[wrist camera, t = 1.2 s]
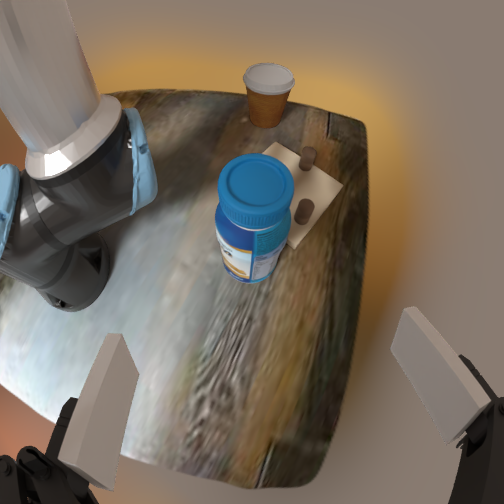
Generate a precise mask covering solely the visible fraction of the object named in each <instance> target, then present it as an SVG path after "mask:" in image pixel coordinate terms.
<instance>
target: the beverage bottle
mask: <svg viewBox="0 0 504 504" xmlns="http://www.w3.org/2000/svg"><path fill="white" fill-rule="evenodd" d="M218 195H219V201H220V202H219V204H218V206H217V209H216V213H215V224H216V235H217V239H218V242H219V244H220V248H221V252H222V259H223V264H224V267H225V269H226V270H227V272H228V273H229V274H230V275H231V276H232V277H233V278H234V279H236V280H238V281H240V282H244V283H256V282H260V281H262V280H264V279H266V278H267V277H268V276H269V275H270V274H271V273H272V272H273V270H274V269H275V266H276V264H277V260H278V257H279V254H280V252H281V251H282V249H283V248H284V246H285V244H286V242H287V238H288V234H289V231H290V227H291V211H290V208H289V207H290V205H291V202H292V199H293V195H294V180H293V176H292V174H291V172H290V170H289V169H288V168H287V167H286V165H284V164H283V163H282V162H281V161H279V160H278V159H276V158H274V157H272V156H269V155H265V154H259V153H251V154H245V155H241V156H238V157H236V158H234V159H233V160H231V161H230V162H229V163H227V164H226V165H225V167H224V168H223V169H222V171H221V173H220V176H219V180H218Z"/></svg>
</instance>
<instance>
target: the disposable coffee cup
mask: <svg viewBox="0 0 504 504" xmlns="http://www.w3.org/2000/svg"><path fill="white" fill-rule="evenodd" d="M243 80H244V83H245V84H246V89H247V97H248V105H249V113H250V120H251V122H252V123H253V124H254V125H256V126H258V127H261V128H272V127H275V126H277V125H278V124H279V122H280V119H281V117H282V114H283V111H284V108H285V105H286V102H287V99H288V96H289V93H290V90H291V88H292V87H293V86H294V84H295V80H294V78H293V74H292V72H291V71H290V70H289V69H287V68H286V67H284V66H281V65H278V64H273V63H260V64H255V65H252V66H250V67H249V68H248V69H247V70H246V73H245V74H244V76H243Z"/></svg>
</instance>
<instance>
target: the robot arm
mask: <svg viewBox="0 0 504 504" xmlns="http://www.w3.org/2000/svg"><path fill="white" fill-rule="evenodd" d="M0 108H1V109H2V111H3V112H4V114H5V116H6V117H7V118H8V120H9V122H10V123H11V125H12V126H13V128H14V129H15V130H16V132H17V133H18V134H19V136H20V138H21V139H22V140H23V142H24V143H25V145H26V146H27V148H28V149H27V154H26V160H25V167H26V168H25V169H24V170H23V171H19V169H18V168H17V166H13V165H12V164H4V165H2V166H0V273H3V274H5V275H7V276H9V277H11V278H13V279H16V280H18V281H20V282H22V283H25V284H27V285H29V286H31V287H34V288H35V289H36V290H37V291H38V292H39V293H40V294H41V296H42V297H43V298H44V299H45V300H46V301H47V302H48V303H49V304H50V305H52V306H53V307H55V308H57V309H60V310H63V311H67V312H76V311H80V310H82V309H84V308H86V307H88V306H89V305H90V304H92V303H93V302H94V301H95V300H96V298H97V297H98V296H99V294H100V293H101V291H102V290H103V288H104V285H105V283H106V280H107V277H108V273H109V264H110V260H109V252H108V248H107V246H106V243H105V242H104V240H103V239H102V237H101V236H100V235H99V234H98V233H97V232H98V231H100V230H102V229H103V228H105V227H107V226H109V225H111V224H113V223H115V222H117V221H119V220H121V219H123V218H125V217H127V216H131V215H133V214H134V213H135V211H137V210H139V209H140V208H142V207H144V206H146V205H147V204H149V203H151V202H152V201H153V200H154V199H155V197H156V195H157V192H158V183H157V177H156V173H155V168H154V164H153V160H152V156H151V153H150V150H149V148H148V143H147V138H146V134H145V130H144V127H143V124H142V121H141V118H140V115H139V113H138V111H137V109H135V108H129V109H128V108H127V109H126V108H125V109H123V110H122V107H121V104H120V102H119V101H118V100H117V99H116V98H115V97H112V96H109V95H103V94H99V92H98V89H97V87H96V84H95V82H94V79H93V77H92V74H91V72H90V69H89V67H88V64H87V62H86V59H85V56H84V53H83V50H82V48H81V45H80V42H79V39H78V36H77V33H76V31H75V27H74V25H73V21H72V18H71V15H70V12H69V9H68V5H67V2H66V0H0ZM390 350H391V352H392V354H393V355H394V357H395V358H396V360H397V361H398V363H399V365H400V366H401V368H402V369H403V371H404V373H405V374H406V376H407V377H408V379H409V381H410V382H411V384H412V386H413V387H414V389H415V391H416V392H417V394H418V395H419V397H420V399H421V401H422V402H423V404H424V406H425V408H426V409H427V411H428V413H429V415H430V416H431V418H432V420H433V422H434V423H435V425H436V427H437V429H438V431H439V433H440V434H441V436H442V438H443V440H444V442H445V444H446V445H447V444H449V443H451V442H452V441H454V440H456V439H457V438H459V437H460V436H461V435H462V434H463V433H464V431H466V433H467V434H466V435H465V436H464V437H463V438H462V439H461V440H460V441H459V443H458V444H457V446H456V448H458V447H459V446H460V445H461V444H462V443H463V445H462V446H461V449H462V454H461V459H460V463H459V467H458V472H457V476H456V480H455V483H454V487H453V490H452V494H451V497H450V500H449V503H448V504H504V397H500V398H498V397H497V396H496V394H495V393H494V392H493V390H492V389H491V388H490V386H489V385H488V384H487V382H486V381H485V380H484V378H483V377H482V376H481V375H480V373H479V372H478V370H477V369H475V367H474V365H473V364H472V363H471V362H470V360H468V359H467V358H465V357H464V356H463V355H459V356H458V355H457V354H456V353H455V352H454V351H453V349H452V348H451V347H450V346H449V344H448V343H447V342H446V341H445V340H444V338H443V337H442V336H441V335H440V334H439V333H438V331H437V330H436V329H435V328H434V327H433V326H432V324H431V323H430V322H429V321H428V320H427V319H426V318H425V316H424V315H423V314H422V313H421V312H420V311H419V310H418V309H417V308H416V306H414V307H409V308H404V309H403V312H402V316H401V319H400V322H399V325H398V328H397V331H396V334H395V337H394V340H393V342H392V345H391V348H390ZM138 377H139V372H138V370H137V368H136V366H135V364H134V361H133V359H132V357H131V354H130V352H129V350H128V347H127V345H126V342H125V340H124V338H123V335H122V334H111V333H108V334H107V336H106V338H105V340H104V342H103V344H102V346H101V348H100V350H99V353H98V355H97V357H96V359H95V361H94V364H93V366H92V368H91V370H90V373H89V375H88V377H87V380H86V382H85V384H84V387H83V389H82V391H81V394H80V396H79V399H77V398H72V397H71V398H70V399H69V400H68V401H67V402H66V403H65V404H64V405H63V407H62V410H61V412H60V415H59V416H60V417H59V418H58V420H57V422H56V426H55V428H54V431H53V433H52V436H51V439H50V442H49V444H48V447H47V450H46V453H45V455H44V454H43V453H41V452H40V451H39V450H38V449H37V448H35V447H33V446H26V447H24V448H22V449H21V450H20V451H19V453H18V455H17V459H16V461H15V460H14V459H13V458H11V457H10V456H8V455H2V456H0V504H99V503H98V502H97V500H96V498H95V497H94V495H93V493H92V491H91V490H90V489H89V488H88V486H89V483H91V484H93V485H94V486H96V487H98V488H102V489H105V490H109V491H113V489H114V484H115V478H116V472H117V467H118V462H119V456H120V452H121V447H122V442H123V437H124V433H125V429H126V424H127V420H128V416H129V412H130V408H131V404H132V400H133V396H134V392H135V388H136V385H137V381H138ZM27 497H28V498H27Z"/></svg>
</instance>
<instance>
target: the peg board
mask: <svg viewBox="0 0 504 504" xmlns="http://www.w3.org/2000/svg"><path fill="white" fill-rule="evenodd" d="M262 154H265V155H269V156H272V157H274V158H276V159H278V160H279V161H281V162H282V163H283V164H284V165H286V167H287V168H288V169H289V170H290V172H291V174H292V176H293V180H294V195H293V199H292V202H291V205H290V207H289V208H290V211H291V227H290V231H289V234H288V238H287V242H286V243H287V244H288V245H289V246H291V247H292V248H293V249H296V247H297V246H298V245H299V244H300V242H301V241H302V240H303V239H304V237H305V236H306V235H307V233H308V232H309V231H310V230H311V228H312V227H313V226H314V224H315V223H316V222H317V221H318V219H319V218H320V217H321V215H322V214H323V213H324V211H325V210H326V209H327V208H328V206H329V205H330V204H331V202H332V201H333V200H334V198H335V197H336V196H337V194H338V193H339V192H340V190H341V189H342V187H343V185H342V184H341V183H339V182H338V181H336V180H335V179H333V178H332V177H331V176H329V175H328V174H326V173H325V172H323V171H322V170H320V169H319V168H317V167H316V166H314V165H313V163H314V160H315V157H316V154H317V152H316V150H315V149H314V148H312V147H304V148H303V151H302V154H301V157H300V156H298V155H297V154H295V153H294V152H292V151H290V150H289V149H287V148H285V147H284V146H282V145H281V144H279V143H277V142H274V143H273V144H272V145H271V146H270V147H269V148H268V149H267V150H265V151H264V152H263V153H262Z"/></svg>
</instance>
